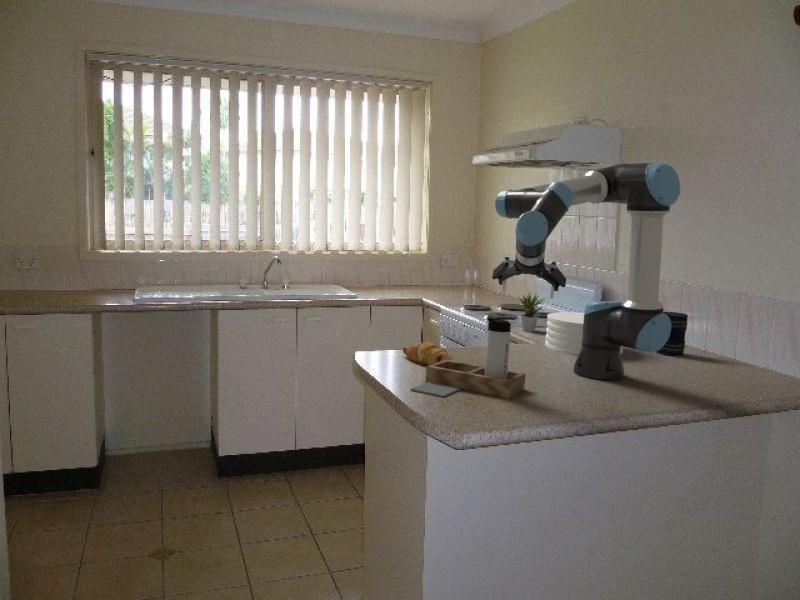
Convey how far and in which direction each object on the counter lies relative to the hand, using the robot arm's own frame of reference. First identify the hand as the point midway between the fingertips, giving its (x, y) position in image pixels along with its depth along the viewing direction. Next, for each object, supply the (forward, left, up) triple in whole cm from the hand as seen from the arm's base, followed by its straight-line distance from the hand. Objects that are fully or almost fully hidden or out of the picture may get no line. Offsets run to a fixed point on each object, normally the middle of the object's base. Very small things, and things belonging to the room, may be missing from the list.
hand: (528, 291), depth 202 cm
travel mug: (+2, +15, -27) cm, 31 cm away
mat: (+14, +27, -26) cm, 40 cm away
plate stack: (0, -64, -27) cm, 69 cm away
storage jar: (-28, -78, -27) cm, 87 cm away
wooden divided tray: (+8, +15, -26) cm, 31 cm away
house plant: (+28, -82, -27) cm, 91 cm away
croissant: (+32, -1, -27) cm, 42 cm away
